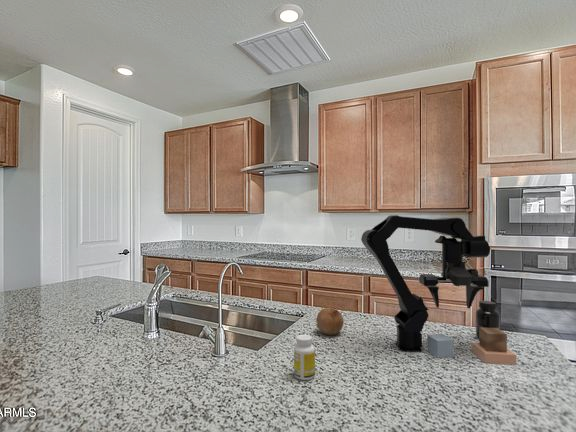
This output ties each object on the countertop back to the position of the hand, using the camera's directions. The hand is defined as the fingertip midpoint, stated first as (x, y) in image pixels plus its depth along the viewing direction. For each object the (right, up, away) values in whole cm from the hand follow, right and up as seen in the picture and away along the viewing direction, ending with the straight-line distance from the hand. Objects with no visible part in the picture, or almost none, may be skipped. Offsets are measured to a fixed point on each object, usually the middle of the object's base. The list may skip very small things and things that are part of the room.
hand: (453, 307), depth 99 cm
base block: (+7, -12, -8) cm, 16 cm away
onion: (-37, -13, +12) cm, 41 cm away
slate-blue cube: (-7, -12, -5) cm, 15 cm away
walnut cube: (+7, -9, -8) cm, 14 cm away
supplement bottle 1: (-47, -12, -18) cm, 52 cm away
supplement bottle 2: (+15, -12, +6) cm, 20 cm away
